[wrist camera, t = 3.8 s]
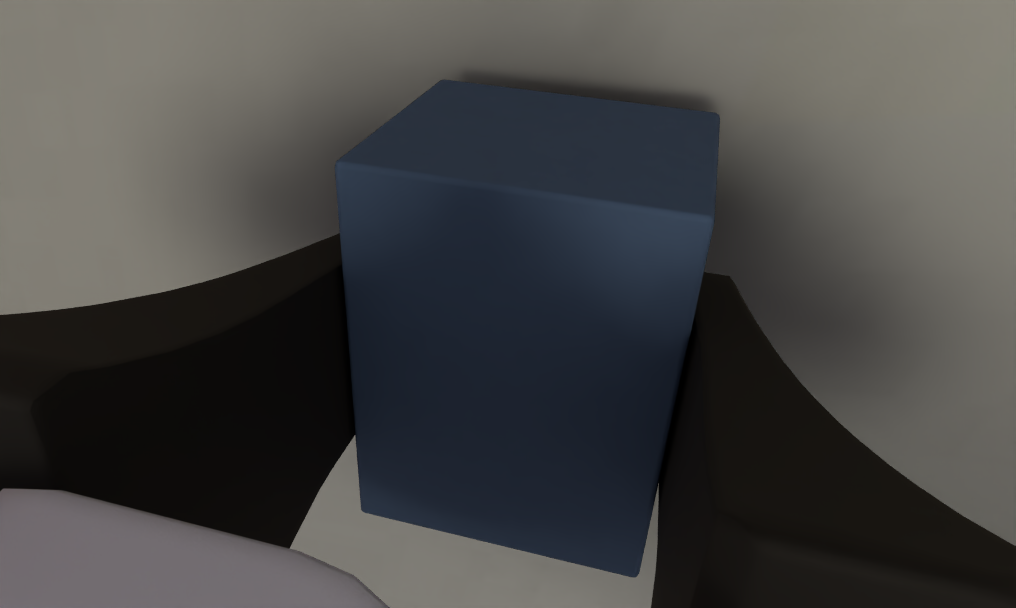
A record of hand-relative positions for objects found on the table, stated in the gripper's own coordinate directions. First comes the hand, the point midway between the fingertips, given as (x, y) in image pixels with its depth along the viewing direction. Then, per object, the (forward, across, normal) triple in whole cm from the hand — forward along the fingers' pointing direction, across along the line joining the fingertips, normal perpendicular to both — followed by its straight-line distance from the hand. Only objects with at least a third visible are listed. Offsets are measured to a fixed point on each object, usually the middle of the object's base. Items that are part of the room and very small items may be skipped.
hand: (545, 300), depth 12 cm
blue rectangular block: (+1, 0, 0) cm, 1 cm away
